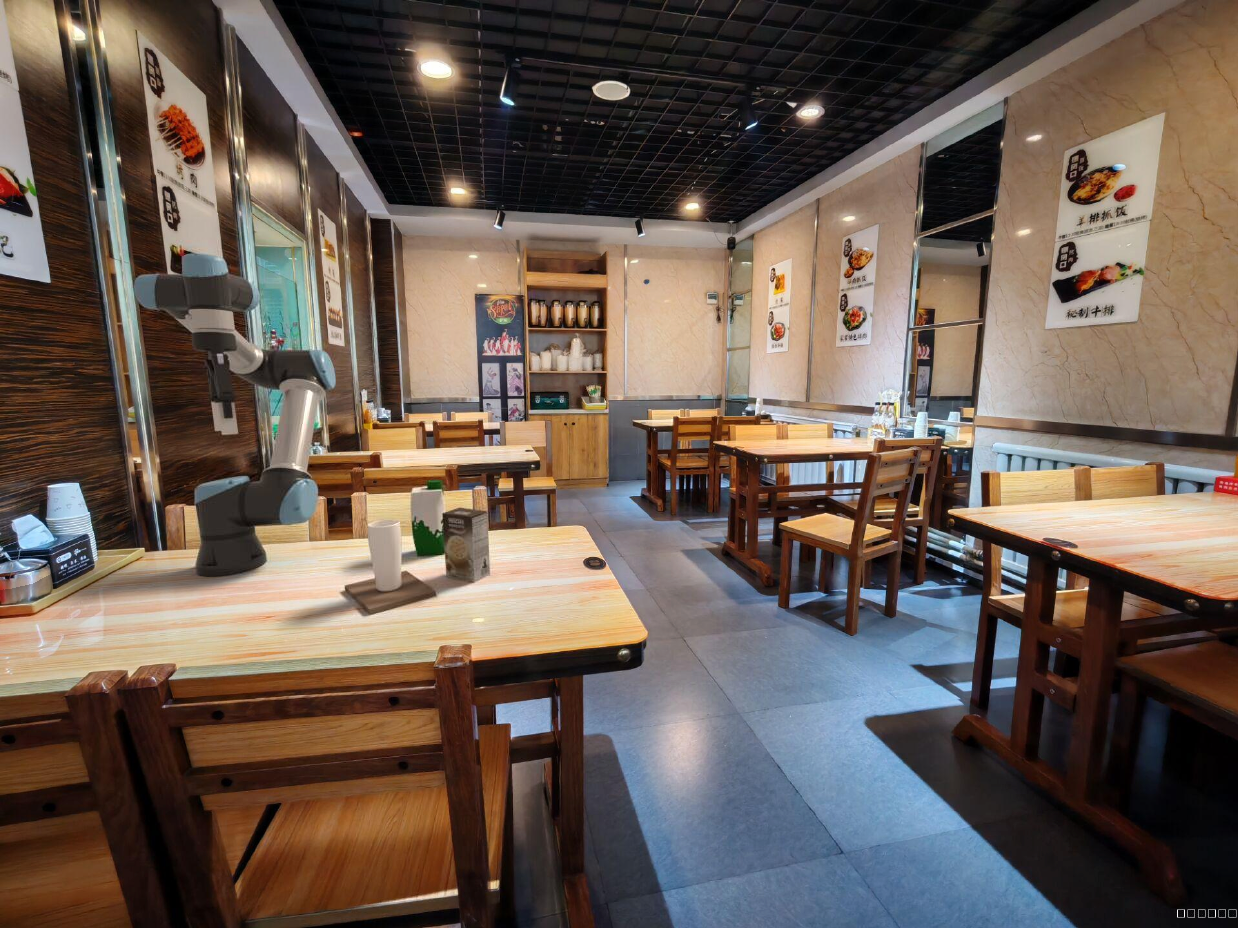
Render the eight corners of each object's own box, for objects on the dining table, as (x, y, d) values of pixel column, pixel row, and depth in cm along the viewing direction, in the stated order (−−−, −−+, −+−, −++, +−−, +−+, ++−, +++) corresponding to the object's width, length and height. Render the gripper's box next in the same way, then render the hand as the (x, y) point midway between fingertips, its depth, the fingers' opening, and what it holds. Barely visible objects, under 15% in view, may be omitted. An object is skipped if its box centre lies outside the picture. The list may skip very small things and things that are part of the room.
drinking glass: (393, 594, 117) (387, 527, 115) (366, 592, 119) (359, 526, 116) (411, 583, 124) (406, 519, 121) (385, 581, 125) (379, 518, 123)
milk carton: (448, 554, 148) (443, 483, 145) (413, 558, 145) (407, 485, 142) (448, 545, 156) (443, 477, 153) (415, 549, 154) (409, 479, 151)
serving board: (345, 590, 124) (344, 585, 123) (406, 575, 133) (406, 570, 132) (369, 614, 110) (369, 609, 110) (436, 595, 119) (436, 590, 119)
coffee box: (444, 577, 131) (440, 512, 128) (462, 569, 136) (458, 507, 134) (474, 582, 127) (470, 516, 124) (492, 573, 133) (488, 510, 130)
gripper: (186, 335, 121) (199, 430, 124) (195, 326, 102) (210, 437, 106) (227, 337, 126) (239, 428, 129) (243, 328, 107) (255, 434, 110)
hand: (226, 432), depth 117 cm, fingers open, 13 cm apart
